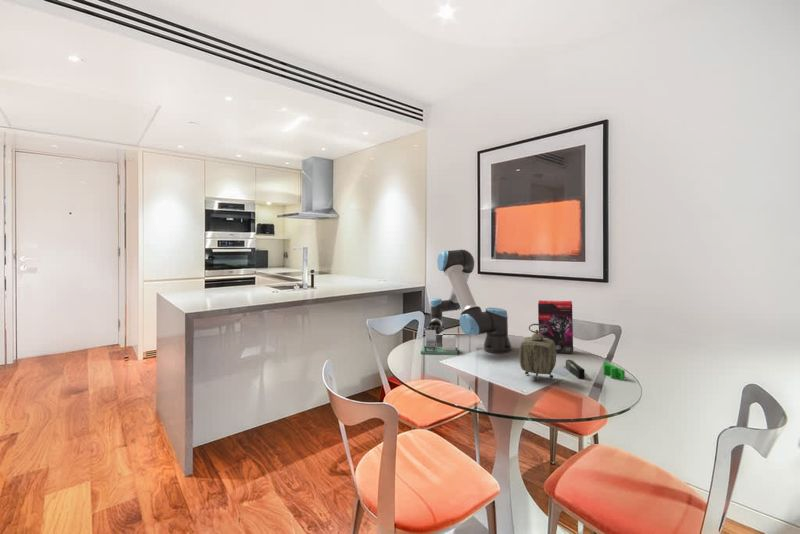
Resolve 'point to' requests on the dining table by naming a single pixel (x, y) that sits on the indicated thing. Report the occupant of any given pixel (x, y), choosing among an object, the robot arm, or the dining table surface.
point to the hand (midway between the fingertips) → (431, 335)
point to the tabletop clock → (537, 354)
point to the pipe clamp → (613, 371)
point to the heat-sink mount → (447, 348)
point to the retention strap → (430, 337)
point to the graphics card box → (557, 323)
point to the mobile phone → (575, 369)
